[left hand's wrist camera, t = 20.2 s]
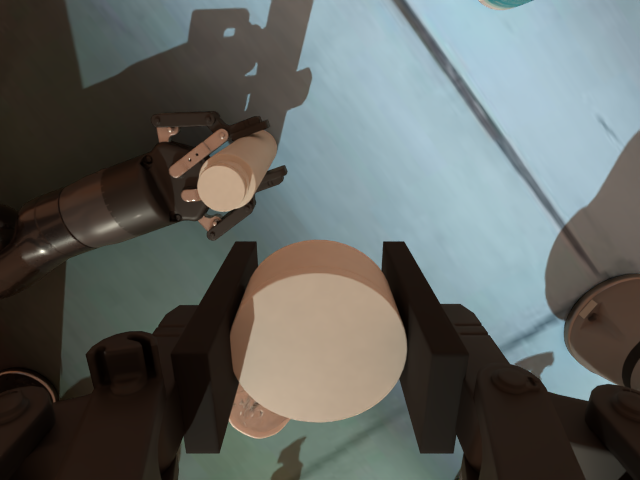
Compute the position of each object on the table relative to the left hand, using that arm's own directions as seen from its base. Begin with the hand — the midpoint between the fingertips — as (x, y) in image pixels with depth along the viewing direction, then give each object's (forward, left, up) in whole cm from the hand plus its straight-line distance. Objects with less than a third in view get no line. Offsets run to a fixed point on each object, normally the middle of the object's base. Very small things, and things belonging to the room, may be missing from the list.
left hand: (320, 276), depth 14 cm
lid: (0, 0, +4) cm, 4 cm away
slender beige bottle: (+6, -3, -33) cm, 33 cm away
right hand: (+3, -3, -27) cm, 27 cm away
